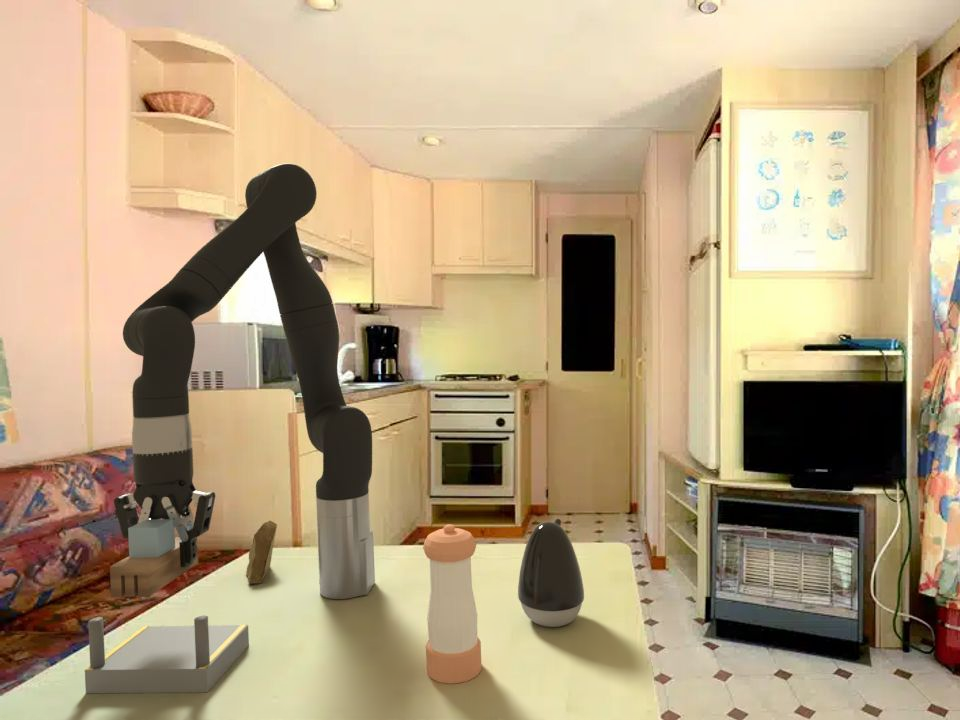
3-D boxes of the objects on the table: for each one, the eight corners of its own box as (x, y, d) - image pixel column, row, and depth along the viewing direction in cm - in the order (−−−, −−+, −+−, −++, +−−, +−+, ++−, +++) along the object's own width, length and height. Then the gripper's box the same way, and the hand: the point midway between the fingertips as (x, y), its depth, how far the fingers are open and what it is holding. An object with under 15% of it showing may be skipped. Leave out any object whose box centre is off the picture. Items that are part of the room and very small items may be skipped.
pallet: (165, 563, 88) (164, 537, 88) (198, 563, 88) (197, 536, 87) (111, 597, 76) (109, 566, 76) (148, 596, 76) (147, 565, 75)
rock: (270, 575, 109) (299, 550, 118) (241, 539, 109) (272, 516, 118) (234, 604, 112) (265, 577, 121) (206, 569, 112) (239, 545, 121)
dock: (249, 645, 87) (246, 584, 87) (207, 692, 75) (204, 621, 75) (143, 646, 87) (140, 586, 87) (85, 693, 75) (82, 623, 75)
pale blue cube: (147, 548, 83) (146, 519, 83) (175, 547, 83) (174, 519, 83) (129, 557, 79) (128, 528, 79) (158, 557, 79) (157, 527, 79)
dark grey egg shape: (592, 610, 94) (589, 515, 94) (574, 640, 85) (571, 535, 85) (532, 601, 98) (529, 510, 98) (509, 628, 89) (505, 528, 89)
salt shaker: (446, 650, 83) (441, 515, 83) (491, 662, 80) (486, 520, 79) (415, 675, 77) (410, 529, 77) (462, 689, 73) (457, 536, 73)
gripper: (224, 442, 87) (229, 556, 88) (131, 444, 88) (135, 557, 88) (198, 450, 80) (203, 575, 80) (96, 453, 81) (101, 576, 81)
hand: (167, 565), depth 84 cm, fingers closed on pallet, 5 cm apart
